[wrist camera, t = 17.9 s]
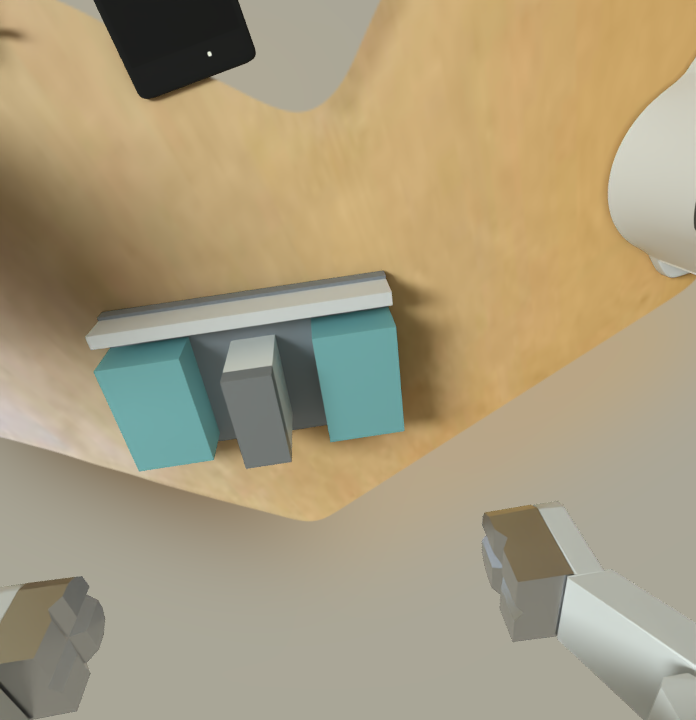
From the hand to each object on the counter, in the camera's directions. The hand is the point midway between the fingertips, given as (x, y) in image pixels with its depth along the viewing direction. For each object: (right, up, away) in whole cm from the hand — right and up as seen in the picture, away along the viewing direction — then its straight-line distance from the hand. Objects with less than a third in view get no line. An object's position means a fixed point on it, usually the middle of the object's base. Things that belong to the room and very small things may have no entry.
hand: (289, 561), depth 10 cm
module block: (-7, +2, +36) cm, 37 cm away
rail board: (-7, +4, +37) cm, 37 cm away
